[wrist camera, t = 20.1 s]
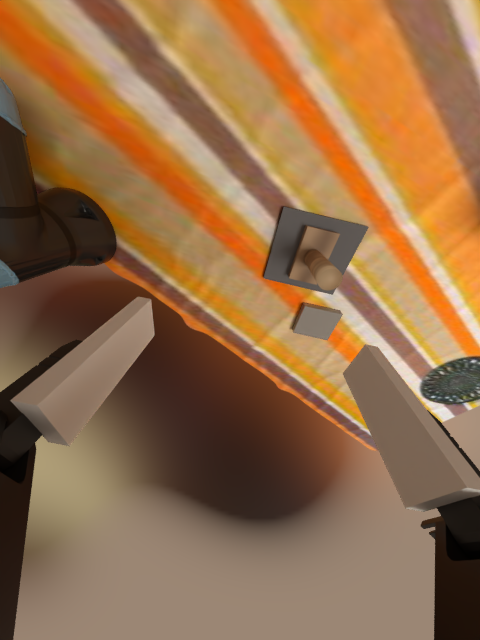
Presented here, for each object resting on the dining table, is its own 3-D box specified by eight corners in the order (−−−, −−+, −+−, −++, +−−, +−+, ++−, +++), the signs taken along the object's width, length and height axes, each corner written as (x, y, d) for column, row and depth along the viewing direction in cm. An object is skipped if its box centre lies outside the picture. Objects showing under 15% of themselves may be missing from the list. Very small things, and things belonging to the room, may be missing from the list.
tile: (293, 332, 47) (327, 340, 47) (305, 306, 43) (342, 314, 43) (292, 327, 49) (324, 334, 49) (303, 301, 45) (339, 309, 45)
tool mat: (263, 276, 42) (263, 278, 41) (283, 206, 34) (283, 206, 34) (331, 292, 42) (332, 294, 41) (366, 226, 34) (368, 226, 34)
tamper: (288, 275, 40) (296, 305, 29) (305, 225, 35) (325, 237, 23) (314, 281, 40) (333, 314, 29) (336, 232, 35) (371, 248, 23)
